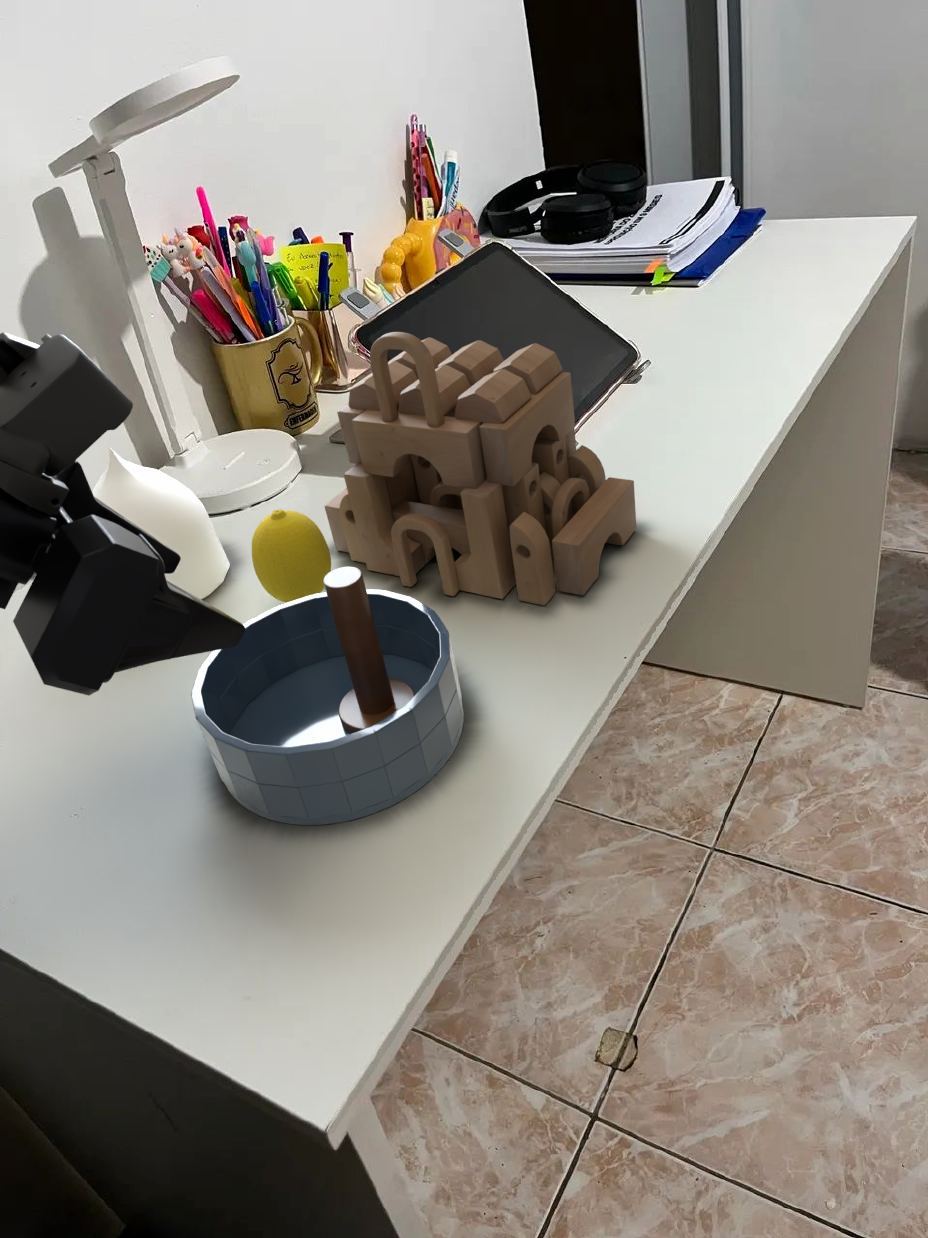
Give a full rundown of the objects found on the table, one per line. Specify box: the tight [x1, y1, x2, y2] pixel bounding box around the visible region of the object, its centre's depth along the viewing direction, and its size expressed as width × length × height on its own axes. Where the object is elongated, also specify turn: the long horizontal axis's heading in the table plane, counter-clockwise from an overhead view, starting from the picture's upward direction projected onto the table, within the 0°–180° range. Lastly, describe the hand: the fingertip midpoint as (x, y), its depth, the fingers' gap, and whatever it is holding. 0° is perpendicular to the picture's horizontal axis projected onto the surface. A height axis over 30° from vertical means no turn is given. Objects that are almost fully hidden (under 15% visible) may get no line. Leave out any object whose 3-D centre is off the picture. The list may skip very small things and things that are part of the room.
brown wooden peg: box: [323, 565, 415, 734], centre depth 56 cm, size 5×5×10 cm
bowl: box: [190, 588, 464, 826], centre depth 57 cm, size 15×15×6 cm
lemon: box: [251, 508, 332, 603], centre depth 69 cm, size 6×6×8 cm
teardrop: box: [91, 446, 231, 601], centre depth 74 cm, size 11×11×12 cm
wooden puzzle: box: [324, 331, 637, 606], centre depth 69 cm, size 22×15×19 cm, turn 59°
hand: (206, 597), depth 49 cm, fingers open, 9 cm apart
